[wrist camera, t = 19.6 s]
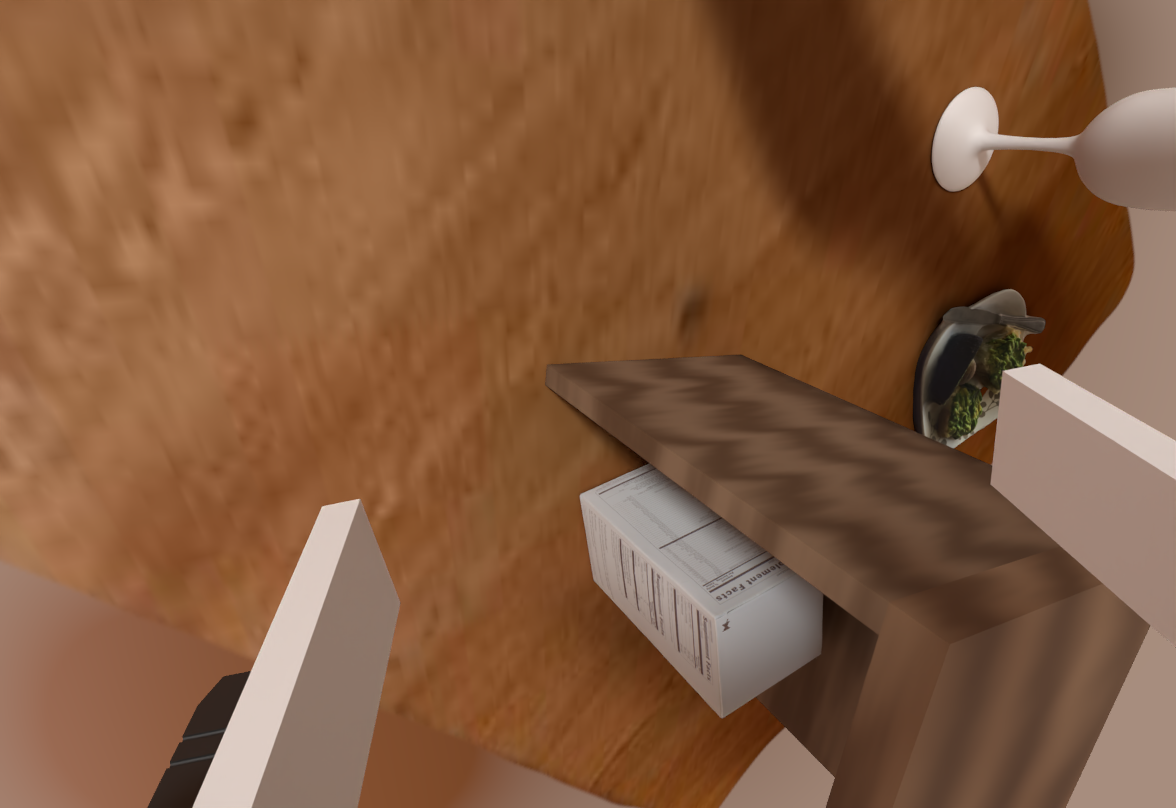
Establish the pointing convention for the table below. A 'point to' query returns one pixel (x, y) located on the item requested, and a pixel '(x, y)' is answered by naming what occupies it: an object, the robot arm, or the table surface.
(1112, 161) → the wineglass
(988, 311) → the salad plate
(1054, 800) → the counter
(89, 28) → the table surface
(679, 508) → the supplement box
